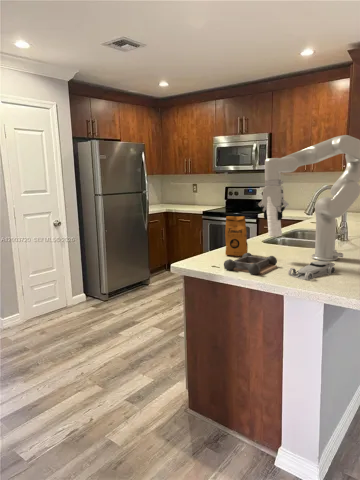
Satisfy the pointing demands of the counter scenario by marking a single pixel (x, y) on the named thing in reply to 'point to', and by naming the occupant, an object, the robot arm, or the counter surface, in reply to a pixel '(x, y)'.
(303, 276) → the car model
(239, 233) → the coffee package
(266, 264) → the chassis
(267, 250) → the counter surface
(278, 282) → the counter surface
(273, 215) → the water bottle
